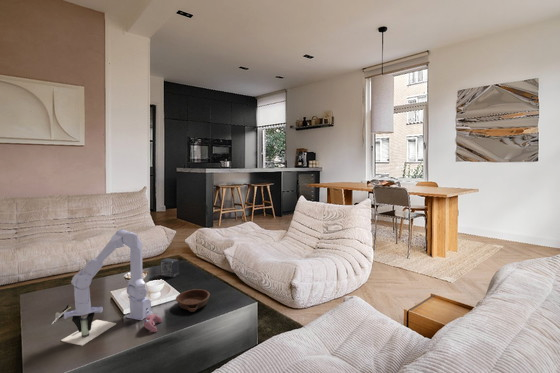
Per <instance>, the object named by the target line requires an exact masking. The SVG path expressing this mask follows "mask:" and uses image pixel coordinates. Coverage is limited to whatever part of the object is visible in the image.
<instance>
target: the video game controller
mask: <svg viewBox="0 0 560 373" xmlns="http://www.w3.org/2000/svg"><path fill="white" fill-rule="evenodd" d="M144 319H145V321H143V326H144V328H145V329H146V330H149V331H150V332H152V333H156V332H158V328H157V326H156V323H162V322H163V319H162V317H160V316H159V315H157V314H156V313H154V312H153V313H151V314H150V315H148V316H147V317H146V318H144Z"/></svg>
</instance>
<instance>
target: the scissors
mask: <svg viewBox="0 0 560 373" xmlns="http://www.w3.org/2000/svg"><path fill="white" fill-rule="evenodd" d="M71 305H73V304H71ZM71 308H72V307H69V304H68V305H66V307H65V308H64V310H63V311H62V312H61V313H60V312H58V311H57V312H56V313H55V316H54V318H55V319H54V320H52V322H51V325H53V324H55V323H56V322H57V321H58V320H60V319H61V318H64V313H65V312H68V311H69V310H71ZM54 322H55V323H54Z"/></svg>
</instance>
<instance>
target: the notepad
mask: <svg viewBox="0 0 560 373" xmlns="http://www.w3.org/2000/svg"><path fill="white" fill-rule="evenodd" d="M115 325H117V323H116V322H111V321H107V320H100V319H95V320H93V321H92V325H91V330H90V331H89V333H90V335H89V336H87V337H82V335H81V332H79V330H78V329H77V331H75V332H73V333H71V334H69V335H68V336H66V337H64V338H62V339H60V340H61V341H60V342H64V343H68V344H73V345H77V346H82V347H83V346H84V345H86V344H87V343H88V342H90V341H92V340H94V339H95V338H97V337H98V336H100V335H101V334H103V333H105V332H106V331H108V330H109V329H110V328H113V327H114V326H115Z"/></svg>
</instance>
